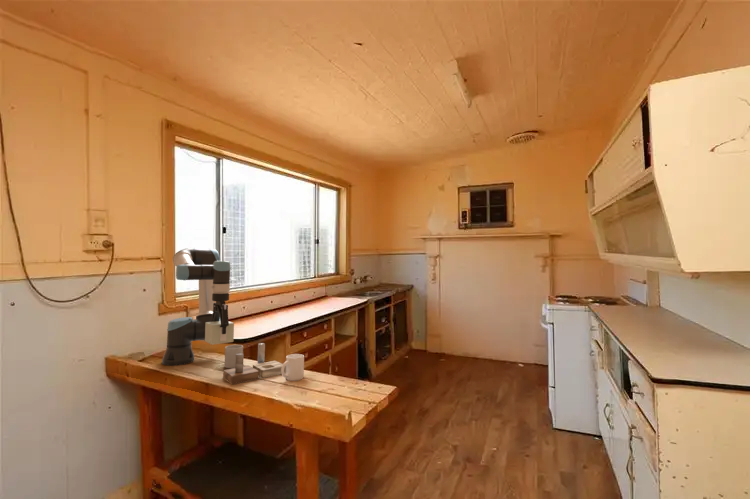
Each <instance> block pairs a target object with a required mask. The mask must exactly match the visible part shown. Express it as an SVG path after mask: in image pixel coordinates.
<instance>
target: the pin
mask: <svg viewBox="0 0 750 499" xmlns="http://www.w3.org/2000/svg"><path fill="white" fill-rule="evenodd" d="M265 352H266V343H264V342H259V343H257V364H260V363H265V357H266V356H265V354H266V353H265Z"/></svg>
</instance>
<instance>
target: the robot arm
mask: <svg viewBox="0 0 750 499" xmlns="http://www.w3.org/2000/svg"><path fill="white" fill-rule="evenodd" d="M172 263H173V265H174V266H175V267H176V269H175V278H176V280H179V281H198V313H197V315H196V316H195V319H193V317H191V316H186V317H184V316H183V317H179V318H173V319H171V320H170V321H169V322H168V323H167V329H166V330H167V333H166V334H167V335H166V349H165V352H164V354H163V357H162V360H161V361H162V362H161V364H162V365H164V366H169V367H170V366H172V367H174V366H181V365H186V364H191V363H193V362H195V353H194V351H193V347H192V342H197V341H205V324H206V322H215V321H220V322H221V326H220V341H226V334H227V326H229V305H228V304H226V302H228V301H229V300H230V293H229V292H230V287H231V284H230V281H231V279H230V278H231V262H230V261H228V260H221V257H220V254H219V252H218V250H217V249H215V248H195V247H194V248H193V247H189V248H183V249H180V250H179V251H177V252H175V254H174V255H173V257H172Z"/></svg>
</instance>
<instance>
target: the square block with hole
mask: <svg viewBox="0 0 750 499" xmlns="http://www.w3.org/2000/svg"><path fill="white" fill-rule="evenodd" d="M283 364H284V363H281V362H279V361H277V360H270V361H267V362H265V361H264V363H260V364H258V363H255V364H252V368H254V369H256V370H258V371H259V377H260V378H262V379H264V378H270V377H273V376H277V375H282V374H281V368H282V365H283ZM284 373H285V374H286V366H285V368H284Z"/></svg>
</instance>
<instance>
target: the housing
mask: <svg viewBox="0 0 750 499" xmlns="http://www.w3.org/2000/svg"><path fill="white" fill-rule="evenodd" d="M220 326H221V322H220V321H215V322H206V324H205V340H204V342H206V343H207V344H209V345H213V346H214V345H219V344H226V343H227V344H228V343H233V342H234V335H235V334H234V333H235V322H232V321H229V326H227V334H226V341H220Z"/></svg>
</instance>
